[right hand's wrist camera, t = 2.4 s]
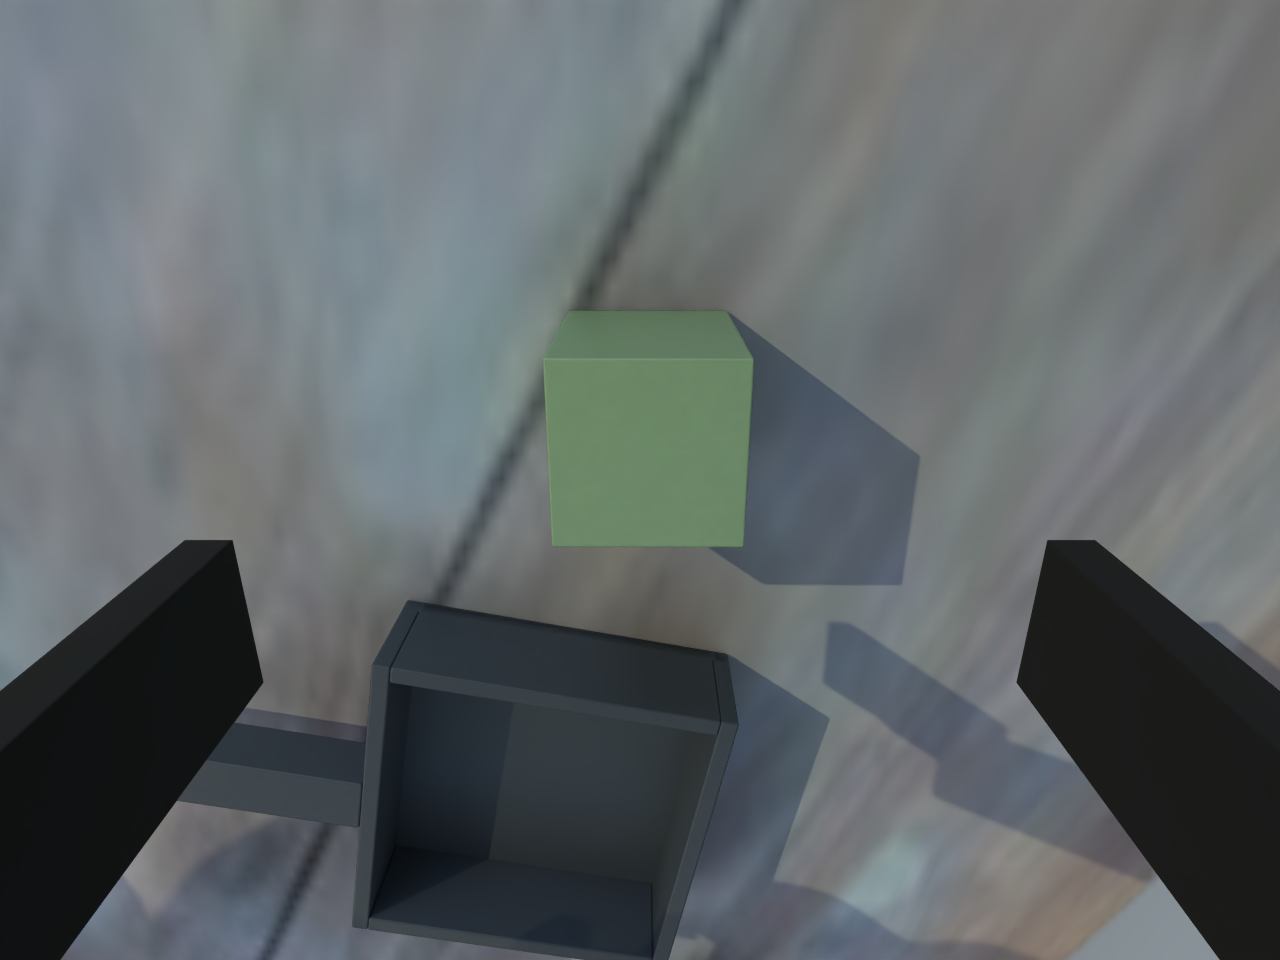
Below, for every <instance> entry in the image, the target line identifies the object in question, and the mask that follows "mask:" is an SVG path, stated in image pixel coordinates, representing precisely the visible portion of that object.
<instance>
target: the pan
mask: <svg viewBox="0 0 1280 960" xmlns="http://www.w3.org/2000/svg"><path fill="white" fill-rule="evenodd" d="M738 726H739V724H738V718H737V712H736V706H735V700H734V694H733V688H732V682H731V676H730V670H729V663H728V657H727V654H722V653H716V652H710V651H705V650H699V649H693V648H687V647H681V646H675V645H669V644H663V643H657V642H651V641H645V640H639V639H634V638H628V637H622V636H616V635H610V634H604V633H598V632H592V631H586V630H580V629H574V628H568V627H563V626H557V625H551V624H545V623H539V622H533V621H527V620H521V619H515V618H509V617H503V616H497V615H492V614H486V613H480V612H474V611H468V610H462V609H456V608H450V607H444V606H438V605H432V604H426V603H421V602H415V601H407V602H406V604H405V606H404V608H403V610H402V611H401V613H400V615H399V617H398V619H397V621H396V622H395V624H394V626H393V628H392V630H391V631H390V633H389V635H388V637H387V639H386V641H385V642H384V644H383V646H382V648H381V650H380V652H379V653H378V655H377V657H376V659H375V661H374V662H373V664H372V670H371V683H370V696H369V709H368V723H367V736H366V743H361V742H354V741H348V740H342V739H335V738H329V737H322V736H316V735H310V734H303V733H297V732H291V731H284V730H278V729H271V728H265V727H259V726H252V725H246V724H239V723H233V725H232V726H231V727H230V729H229V730H228V732H227V733H226V734H225V736H224V737H223V738H222V740H221V741H220V742H219V744H218V745H217V747H216V748H215V749H214V751H213V752H212V753H211V755H210V756H209V757H208V759H207V760H206V762H205V763H204V764H203V766H202V767H201V768H200V770H199V771H198V772H197V774H196V775H195V777H194V778H193V779H192V781H191V782H190V783H189V785H188V786H187V787H186V789H185V790H184V792H183V793H182V794H181V796H180V797H179V798H178V800H177V801H183V802H190V803H196V804H203V805H210V806H216V807H223V808H230V809H236V810H243V811H250V812H256V813H263V814H270V815H277V816H283V817H290V818H297V819H303V820H310V821H317V822H323V823H330V824H337V825H343V826H350V827H359V826H360V828H359V841H358V854H357V868H356V881H355V894H354V907H353V920H352V927H355V928H362V929H367V928H368V929H370V930H377V931H384V932H391V933H398V934H405V935H412V936H419V937H426V938H433V939H440V940H447V941H455V942H462V943H469V944H476V945H483V946H490V947H497V948H504V949H511V950H518V951H525V952H532V953H539V954H547V955H554V956H561V957H568V958H575V959H582V960H668V959H669V956H670V953H671V949H672V946H673V943H674V939H675V936H676V933H677V929H678V926H679V923H680V919H681V916H682V913H683V909H684V906H685V903H686V899H687V896H688V893H689V889H690V886H691V883H692V879H693V876H694V873H695V869H696V866H697V863H698V859H699V856H700V853H701V849H702V846H703V843H704V839H705V836H706V833H707V829H708V826H709V823H710V819H711V816H712V813H713V809H714V806H715V803H716V799H717V796H718V793H719V789H720V786H721V783H722V779H723V776H724V773H725V769H726V766H727V763H728V759H729V756H730V753H731V749H732V746H733V743H734V739H735V736H736V733H737V729H738Z"/></svg>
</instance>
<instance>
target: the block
mask: <svg viewBox="0 0 1280 960" xmlns="http://www.w3.org/2000/svg"><path fill="white" fill-rule="evenodd" d="M543 366H544V387H545V408H546V429H547V449H548V470H549V491H550V512H551V532H552V545H553V546H554V547H743V546H744V536H745V518H746V500H747V482H748V464H749V446H750V428H751V410H752V392H753V375H754V358H753V357H752V355H751V353H750V351H749V349H748V348H747V346H746V344H745V342H744V340H743V339H742V337H741V335H740V333H739V332H738V330H737V328H736V326H735V324H734V323H733V321H732V319H731V317H730V315H729V314H728V312H727V311H568V313H567V315H566V317H565V319H564V321H563V323H562V325H561V327H560V328H559V330H558V332H557V334H556V336H555V338H554V340H553V342H552V344H551V346H550V348H549V350H548V351H547V353H546V355H545V357H544V359H543Z"/></svg>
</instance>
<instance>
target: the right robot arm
mask: <svg viewBox="0 0 1280 960" xmlns="http://www.w3.org/2000/svg"><path fill="white" fill-rule="evenodd" d="M262 684H263V678H262V674H261V669H260V664H259V660H258V655H257V651H256V646H255V641H254V637H253V632H252V628H251V623H250V618H249V614H248V609H247V605H246V600H245V595H244V591H243V586H242V582H241V577H240V572H239V568H238V563H237V559H236V554H235V549H234V545H233V540H185V541H183V542H182V543H181V544H180V545H178V546H177V547H176V548H175V549H174V550H172V551H171V552H170V553H169V554H167V555H166V556H165V557H164V558H163V559H161V560H160V561H159V562H158V563H156V564H155V565H154V566H153V567H152V568H150V569H149V570H148V571H147V572H145V573H144V574H143V575H142V576H141V577H139V578H138V579H137V580H136V581H134V582H133V583H132V584H131V585H130V586H128V587H127V588H126V589H125V590H123V591H122V592H121V593H120V594H118V595H117V596H116V597H115V598H114V599H112V600H111V601H110V602H109V603H107V604H106V605H105V606H104V607H103V608H101V609H100V610H99V611H98V612H96V613H95V614H94V615H93V616H92V617H90V618H89V619H88V620H87V621H85V622H84V623H83V624H82V625H81V626H79V627H78V628H77V629H76V630H74V631H73V632H72V633H71V634H70V635H68V636H67V637H66V638H65V639H63V640H62V641H61V642H60V643H58V644H57V645H56V646H55V647H54V648H52V649H51V650H50V651H49V652H47V653H46V654H45V655H44V656H43V657H41V658H40V659H39V660H38V661H36V662H35V663H34V664H33V665H32V666H30V667H29V668H28V669H27V670H25V671H24V672H23V673H22V674H21V675H19V676H18V677H17V678H16V679H14V680H13V681H12V682H11V683H10V684H8V685H7V686H6V687H5V688H3V689H2V690H1V691H0V960H60V959H61V958H62V957H63V955H64V954H65V953H66V951H67V950H68V949H69V947H70V946H71V944H72V943H73V942H74V940H75V939H76V938H77V936H78V935H79V933H80V932H81V931H82V929H83V928H84V927H85V925H86V924H87V923H88V921H89V920H90V918H91V917H92V916H93V914H94V913H95V912H96V910H97V909H98V908H99V906H100V905H101V903H102V902H103V901H104V899H105V898H106V897H107V895H108V894H109V893H110V891H111V890H112V888H113V887H114V886H115V884H116V883H117V882H118V880H119V879H120V878H121V876H122V875H123V873H124V872H125V871H126V869H127V868H128V867H129V865H130V864H131V863H132V861H133V860H134V858H135V857H136V856H137V854H138V853H139V852H140V850H141V849H142V848H143V846H144V845H145V843H146V842H147V841H148V839H149V838H150V837H151V835H152V834H153V832H154V831H155V830H156V828H157V827H158V826H159V824H160V823H161V822H162V820H163V819H164V817H165V816H166V815H167V813H168V812H169V811H170V809H171V808H172V807H173V805H174V804H175V802H176V801H177V800H178V798H179V797H180V796H181V794H182V793H183V792H184V790H185V789H186V787H187V786H188V785H189V783H190V782H191V781H192V779H193V778H194V777H195V775H196V774H197V772H198V771H199V770H200V768H201V767H202V766H203V764H204V763H205V762H206V760H207V759H208V757H209V756H210V755H211V753H212V752H213V751H214V749H215V748H216V747H217V745H218V744H219V742H220V741H221V740H222V738H223V737H224V736H225V734H226V733H227V732H228V730H229V729H230V727H231V726H232V725H233V723H234V722H235V721H236V719H237V718H238V716H239V715H240V714H241V712H242V711H243V710H244V708H245V707H246V706H247V704H248V703H249V701H250V700H251V699H252V697H253V696H254V695H255V693H256V692H257V691H258V689H259V688H260V686H261V685H262ZM1017 684H1018V685H1019V686H1020V688H1021V689H1022V691H1023V692H1024V693H1025V695H1026V696H1027V697H1028V699H1029V700H1030V701H1031V703H1032V704H1033V706H1034V707H1035V708H1036V710H1037V711H1038V712H1039V714H1040V715H1041V716H1042V718H1043V719H1044V721H1045V722H1046V723H1047V725H1048V726H1049V727H1050V729H1051V730H1052V732H1053V733H1054V734H1055V736H1056V737H1057V738H1058V740H1059V741H1060V742H1061V744H1062V745H1063V747H1064V748H1065V749H1066V751H1067V752H1068V753H1069V755H1070V756H1071V757H1072V759H1073V760H1074V762H1075V763H1076V764H1077V766H1078V767H1079V768H1080V770H1081V771H1082V772H1083V774H1084V775H1085V777H1086V778H1087V779H1088V781H1089V782H1090V783H1091V785H1092V786H1093V787H1094V789H1095V790H1096V792H1097V793H1098V794H1099V796H1100V797H1101V798H1102V800H1103V801H1104V802H1105V804H1106V805H1107V807H1108V808H1109V809H1110V811H1111V812H1112V813H1113V815H1114V816H1115V817H1116V819H1117V820H1118V822H1119V823H1120V824H1121V826H1122V827H1123V828H1124V830H1125V831H1126V833H1127V834H1128V835H1129V837H1130V838H1131V839H1132V841H1133V842H1134V843H1135V845H1136V846H1137V848H1138V849H1139V850H1140V852H1141V853H1142V854H1143V856H1144V857H1145V858H1146V860H1147V861H1148V863H1149V864H1150V865H1151V867H1152V868H1153V869H1154V871H1155V872H1156V873H1157V875H1158V876H1159V878H1160V879H1161V880H1162V882H1163V883H1164V884H1165V886H1166V887H1167V888H1168V890H1169V891H1170V892H1171V894H1172V895H1173V897H1174V898H1175V899H1176V901H1177V902H1178V903H1179V905H1180V906H1181V907H1182V909H1183V910H1184V912H1185V913H1186V914H1187V916H1188V917H1189V918H1190V920H1191V921H1192V923H1193V924H1194V925H1195V927H1196V928H1197V929H1198V931H1199V932H1200V933H1201V935H1202V936H1203V937H1204V939H1205V940H1206V942H1207V943H1208V944H1209V946H1210V947H1211V949H1212V950H1213V951H1214V953H1215V954H1216V955H1217V957H1218V958H1219V959H1220V960H1280V691H1279V690H1278V689H1277V688H1275V687H1274V686H1273V685H1272V684H1270V683H1269V682H1268V681H1267V680H1266V679H1264V678H1263V677H1262V676H1261V675H1259V674H1258V673H1257V672H1256V671H1255V670H1253V669H1252V668H1251V667H1250V666H1248V665H1247V664H1246V663H1245V662H1244V661H1242V660H1241V659H1240V658H1239V657H1237V656H1236V655H1235V654H1234V653H1233V652H1231V651H1230V650H1229V649H1228V648H1226V647H1225V646H1224V645H1223V644H1222V643H1220V642H1219V641H1218V640H1217V639H1215V638H1214V637H1213V636H1212V635H1210V634H1209V633H1208V632H1207V631H1206V630H1204V629H1203V628H1202V627H1201V626H1199V625H1198V624H1197V623H1196V622H1195V621H1193V620H1192V619H1191V618H1190V617H1188V616H1187V615H1186V614H1185V613H1184V612H1182V611H1181V610H1180V609H1179V608H1177V607H1176V606H1175V605H1174V604H1173V603H1171V602H1170V601H1169V600H1168V599H1166V598H1165V597H1164V596H1163V595H1162V594H1160V593H1159V592H1158V591H1157V590H1155V589H1154V588H1153V587H1152V586H1150V585H1149V584H1148V583H1147V582H1146V581H1144V580H1143V579H1142V578H1141V577H1139V576H1138V575H1137V574H1136V573H1135V572H1133V571H1132V570H1131V569H1130V568H1128V567H1127V566H1126V565H1125V564H1124V563H1122V562H1121V561H1120V560H1119V559H1117V558H1116V557H1115V556H1114V555H1113V554H1111V553H1110V552H1109V551H1108V550H1106V549H1105V548H1104V547H1103V546H1102V545H1100V544H1099V543H1098V542H1097V541H1095V540H1047V545H1046V549H1045V554H1044V559H1043V563H1042V568H1041V572H1040V577H1039V582H1038V586H1037V591H1036V595H1035V600H1034V605H1033V609H1032V614H1031V618H1030V623H1029V628H1028V632H1027V637H1026V641H1025V646H1024V651H1023V655H1022V660H1021V664H1020V669H1019V674H1018V678H1017Z"/></svg>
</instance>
